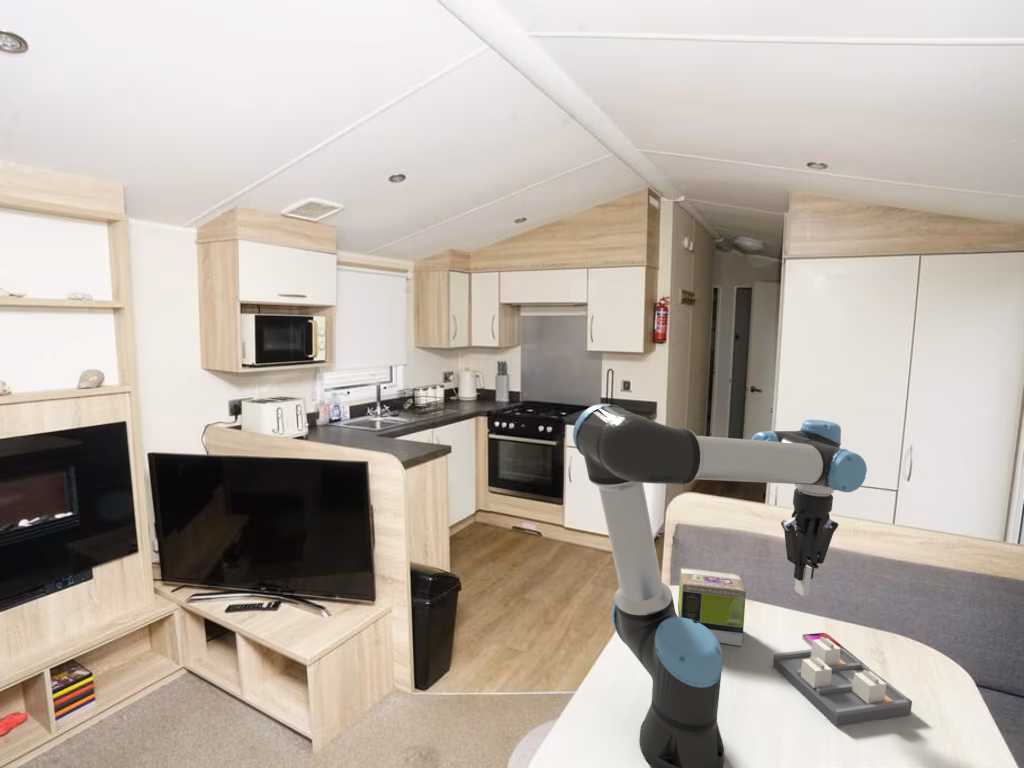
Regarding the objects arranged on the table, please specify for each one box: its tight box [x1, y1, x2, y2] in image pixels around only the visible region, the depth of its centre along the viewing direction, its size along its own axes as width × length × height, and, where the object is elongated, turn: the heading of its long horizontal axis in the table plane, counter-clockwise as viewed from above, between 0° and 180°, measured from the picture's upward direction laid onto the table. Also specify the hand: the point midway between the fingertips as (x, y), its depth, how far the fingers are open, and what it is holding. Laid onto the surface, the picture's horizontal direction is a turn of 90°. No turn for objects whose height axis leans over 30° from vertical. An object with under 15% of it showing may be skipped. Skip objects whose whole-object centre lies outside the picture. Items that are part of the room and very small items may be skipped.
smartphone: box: [801, 632, 871, 669], centre depth 134 cm, size 7×1×15 cm
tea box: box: [677, 567, 747, 647], centre depth 141 cm, size 15×10×15 cm, turn 77°
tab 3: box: [852, 670, 886, 704], centre depth 115 cm, size 4×4×5 cm
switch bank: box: [772, 646, 913, 728], centre depth 121 cm, size 18×19×3 cm
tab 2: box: [801, 656, 832, 688], centre depth 119 cm, size 4×4×5 cm
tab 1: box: [811, 637, 841, 666], centre depth 127 cm, size 4×4×5 cm
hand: (801, 592), depth 123 cm, fingers closed
